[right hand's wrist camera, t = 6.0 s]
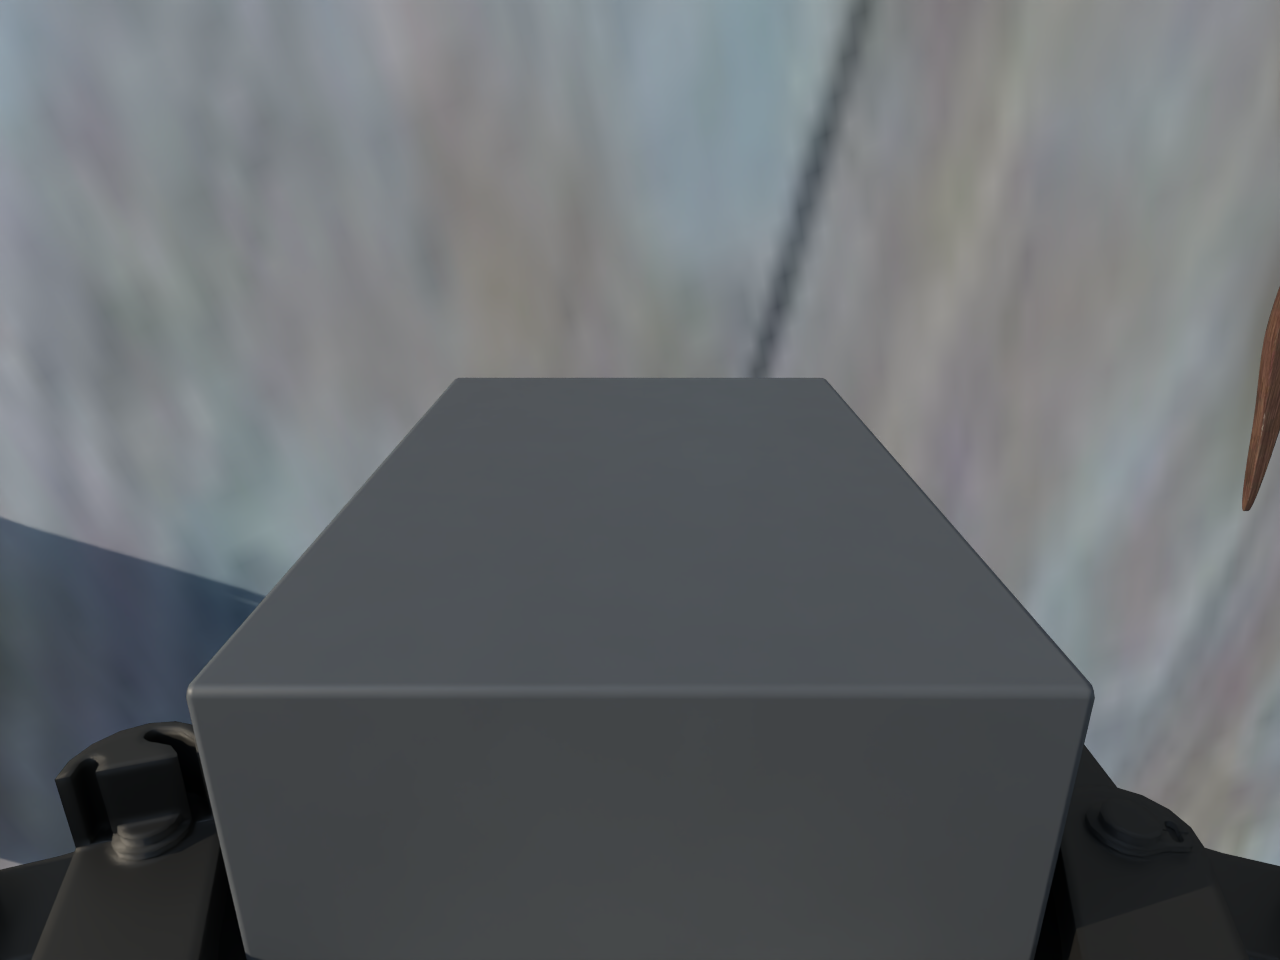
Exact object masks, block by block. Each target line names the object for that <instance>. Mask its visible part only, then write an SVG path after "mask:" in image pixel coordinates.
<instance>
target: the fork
mask: <svg viewBox="0 0 1280 960" xmlns="http://www.w3.org/2000/svg"><path fill="white" fill-rule="evenodd" d="M1279 431H1280V287H1279V290H1278V293H1277V296H1276V299H1275V302H1274V305H1273V308H1272V311H1271V315H1270V318H1269V321H1268V325H1267V329H1266V333H1265V338H1264V343H1263V349H1262V355H1261V363H1260V371H1259V380H1258V389H1257V398H1256V406H1255V414H1254V421H1253V428H1252V434H1251V440H1250V446H1249V452H1248V458H1247V465H1246V471H1245V479H1244V488H1243V498H1242V509H1243V511H1249V510H1250V508H1251V507H1252V505H1253V503H1254V501H1255V498H1256V496H1257V493H1258V491H1259V488H1260V486H1261V483H1262V480H1263V478H1264V475H1265V472H1266V469H1267V466H1268V463H1269V461H1270V458H1271V455H1272V452H1273V449H1274V446H1275V443H1276V440H1277V437H1278V434H1279Z"/></svg>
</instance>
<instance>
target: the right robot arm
mask: <svg viewBox="0 0 1280 960" xmlns="http://www.w3.org/2000/svg"><path fill="white" fill-rule="evenodd" d="M55 782H56V785H57V788H58V792H59V795H60V798H61V801H62V805H63V808H64V811H65V814H66V817H67V821H68V824H69V827H70V830H71V833H72V837H73V840H74V843H75V846H76V850H75V852H72V853H68V854H65V855H62V856H58V857H54V858H50V859H45V860H41V861H36V862H32V863H28V864H23V865H19V866H15V867H10V868H6V869H2V870H0V960H247V958H246V954H245V950H244V945H243V941H242V937H241V932H240V928H239V924H238V919H237V915H236V911H235V906H234V902H233V898H232V893H231V889H230V885H229V880H228V876H227V872H226V868H225V863H224V859H223V855H222V850H221V846H220V842H219V837H218V833H217V829H216V824H215V820H214V816H213V811H212V807H211V803H210V798H209V794H208V790H207V786H206V781H205V777H204V773H203V768H202V764H201V760H200V755H199V751H198V747H197V742H196V738H195V734H194V729H193V725H191V724H186V723H181V722H176V721H174V722H161V723H149V724H145V725H141V726H138V727H134V728H130V729H126V730H123V731H120V732H117V733H115V734H113V735H111V736H109V737H107V738H105V739H102V740H100V741H98V742H96V743H94V744H92V745H91V746H89V747H88V748H86V749H85V750H84V751H82V752H81V753H80V754H78V755H77V756H75V757H74V758H73V759H71V760H70V761H69V762H68V763H67V764H66V766H65V767H64V768H63V770H62V771H61V772H60V773H59V775H58V776H57V777H56V779H55ZM1034 960H1280V866H1277V865H1272V864H1268V863H1263V862H1259V861H1255V860H1250V859H1246V858H1242V857H1237V856H1233V855H1229V854H1224V853H1221V852H1217V851H1214V850H1210V849H1207V848H1204V846H1203V845H1202V843H1201V842H1200V840H1199V839H1198V837H1197V836H1196V834H1195V833H1194V831H1193V830H1192V828H1191V827H1190V826H1188V825H1187V824H1186V823H1185V822H1184V821H1182V820H1181V819H1180V818H1179V817H1178V816H1176V815H1175V814H1174V813H1173V812H1172V811H1170V810H1169V809H1167V808H1165V807H1164V806H1162V805H1160V804H1158V803H1156V802H1154V801H1152V800H1150V799H1148V798H1146V797H1145V796H1143V795H1140V794H1136V793H1133V792H1130V791H1126V790H1123V789H1120V788H1117V787H1116V785H1115V784H1114V783H1113V781H1112V780H1111V779H1110V778H1109V776H1108V775H1107V774H1106V772H1105V771H1104V770H1103V768H1102V767H1101V766H1100V765H1099V763H1098V762H1097V761H1096V759H1095V758H1094V757H1093V755H1092V754H1091V753H1090V751H1089V750H1088V749H1087V748H1086V746H1085V745H1084V746H1083V750H1082V755H1081V759H1080V763H1079V768H1078V772H1077V776H1076V780H1075V785H1074V789H1073V793H1072V798H1071V802H1070V806H1069V811H1068V815H1067V819H1066V823H1065V828H1064V832H1063V836H1062V841H1061V845H1060V849H1059V854H1058V858H1057V862H1056V867H1055V871H1054V875H1053V879H1052V884H1051V888H1050V892H1049V897H1048V901H1047V905H1046V910H1045V914H1044V918H1043V922H1042V927H1041V931H1040V935H1039V940H1038V944H1037V948H1036V953H1035V957H1034Z"/></svg>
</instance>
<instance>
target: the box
mask: <svg viewBox="0 0 1280 960" xmlns="http://www.w3.org/2000/svg"><path fill="white" fill-rule="evenodd" d="M186 699H187V704H188V708H189V712H190V716H191V721H192V725H193V729H194V734H195V738H196V742H197V747H198V751H199V755H200V760H201V764H202V768H203V773H204V777H205V781H206V786H207V790H208V794H209V798H210V803H211V807H212V811H213V816H214V820H215V824H216V829H217V833H218V837H219V842H220V846H221V850H222V855H223V859H224V863H225V868H226V872H227V876H228V880H229V885H230V889H231V893H232V898H233V902H234V906H235V911H236V915H237V919H238V924H239V928H240V932H241V937H242V941H243V945H244V950H245V954H246V958H247V960H1034V957H1035V953H1036V948H1037V944H1038V940H1039V935H1040V931H1041V927H1042V922H1043V918H1044V914H1045V910H1046V905H1047V901H1048V897H1049V892H1050V888H1051V884H1052V879H1053V875H1054V871H1055V867H1056V862H1057V858H1058V854H1059V849H1060V845H1061V841H1062V836H1063V832H1064V828H1065V823H1066V819H1067V815H1068V811H1069V806H1070V802H1071V798H1072V793H1073V789H1074V785H1075V780H1076V776H1077V772H1078V768H1079V763H1080V759H1081V755H1082V750H1083V746H1084V742H1085V737H1086V733H1087V729H1088V725H1089V720H1090V716H1091V712H1092V707H1093V703H1094V699H1095V697H1094V690H1093V687H1092V685H1091V684H1090V682H1089V681H1088V680H1087V679H1086V678H1085V677H1084V676H1083V674H1082V673H1081V672H1080V671H1079V670H1078V669H1077V668H1076V666H1075V665H1074V664H1073V663H1072V662H1071V661H1070V659H1069V658H1068V657H1067V656H1066V655H1065V654H1064V653H1063V651H1062V650H1061V649H1060V648H1059V647H1058V646H1057V645H1056V643H1055V642H1054V641H1053V640H1052V639H1051V638H1050V637H1049V635H1048V634H1047V633H1046V632H1045V631H1044V630H1043V628H1042V627H1041V626H1040V625H1039V624H1038V623H1037V622H1036V620H1035V619H1034V618H1033V617H1032V616H1031V615H1030V614H1029V612H1028V611H1027V610H1026V609H1025V608H1024V607H1023V606H1022V604H1021V603H1020V602H1019V601H1018V600H1017V599H1016V597H1015V596H1014V595H1013V594H1012V593H1011V592H1010V591H1009V589H1008V588H1007V587H1006V586H1005V585H1004V584H1003V583H1002V581H1001V580H1000V579H999V578H998V577H997V576H996V575H995V573H994V572H993V571H992V570H991V569H990V568H989V566H988V565H987V564H986V563H985V562H984V561H983V560H982V558H981V557H980V556H979V555H978V554H977V553H976V552H975V550H974V549H973V548H972V547H971V546H970V545H969V544H968V542H967V541H966V540H965V539H964V538H963V537H962V535H961V534H960V533H959V532H958V531H957V530H956V529H955V527H954V526H953V525H952V524H951V523H950V522H949V521H948V519H947V518H946V517H945V516H944V515H943V514H942V513H941V511H940V510H939V509H938V508H937V507H936V506H935V504H934V503H933V502H932V501H931V500H930V499H929V498H928V496H927V495H926V494H925V493H924V492H923V491H922V490H921V488H920V487H919V486H918V485H917V484H916V483H915V482H914V480H913V479H912V478H911V477H910V476H909V475H908V473H907V472H906V471H905V470H904V469H903V468H902V467H901V465H900V464H899V463H898V462H897V461H896V460H895V459H894V457H893V456H892V455H891V454H890V453H889V452H888V451H887V449H886V448H885V447H884V446H883V445H882V444H881V442H880V441H879V440H878V439H877V438H876V437H875V436H874V434H873V433H872V432H871V431H870V430H869V429H868V428H867V426H866V425H865V424H864V423H863V422H862V421H861V420H860V418H859V417H858V416H857V415H856V414H855V413H854V411H853V410H852V409H851V408H850V407H849V406H848V405H847V403H846V402H845V401H844V400H843V399H842V398H841V397H840V395H839V394H838V393H837V392H836V391H835V390H834V389H833V387H832V386H831V385H830V384H829V383H828V382H827V380H826V379H823V378H457V379H455V380H454V381H453V382H452V384H451V385H450V386H449V387H448V388H447V389H446V390H445V392H444V393H443V394H442V395H441V396H440V397H439V398H438V400H437V401H436V402H435V403H434V404H433V405H432V407H431V408H430V409H429V410H428V411H427V412H426V413H425V415H424V416H423V417H422V418H421V419H420V420H419V421H418V423H417V424H416V425H415V426H414V427H413V428H412V429H411V431H410V432H409V433H408V434H407V435H406V436H405V438H404V439H403V440H402V441H401V442H400V443H399V444H398V446H397V447H396V448H395V449H394V450H393V451H392V452H391V454H390V455H389V456H388V457H387V458H386V459H385V460H384V462H383V463H382V464H381V465H380V466H379V467H378V468H377V470H376V471H375V472H374V473H373V474H372V475H371V477H370V478H369V479H368V480H367V481H366V482H365V483H364V485H363V486H362V487H361V488H360V489H359V490H358V491H357V493H356V494H355V495H354V496H353V497H352V498H351V499H350V501H349V502H348V503H347V504H346V505H345V506H344V507H343V509H342V510H341V511H340V512H339V513H338V514H337V516H336V517H335V518H334V519H333V520H332V521H331V522H330V524H329V525H328V526H327V527H326V528H325V529H324V530H323V532H322V533H321V534H320V535H319V536H318V537H317V538H316V540H315V541H314V542H313V543H312V544H311V545H310V547H309V548H308V549H307V550H306V551H305V552H304V553H303V555H302V556H301V557H300V558H299V559H298V560H297V561H296V563H295V564H294V565H293V566H292V567H291V568H290V569H289V571H288V572H287V573H286V574H285V575H284V576H283V577H282V579H281V580H280V581H279V582H278V583H277V584H276V586H275V587H274V588H273V589H272V590H271V591H270V592H269V594H268V595H267V596H266V597H265V598H264V599H263V600H262V602H261V603H260V604H259V605H258V606H257V607H256V608H255V610H254V611H253V612H252V613H251V614H250V615H249V616H248V618H247V619H246V620H245V621H244V622H243V623H242V625H241V626H240V627H239V628H238V629H237V630H236V631H235V633H234V634H233V635H232V636H231V637H230V638H229V639H228V641H227V642H226V643H225V644H224V645H223V646H222V647H221V649H220V650H219V651H218V652H217V653H216V654H215V656H214V657H213V658H212V659H211V660H210V661H209V662H208V664H207V665H206V666H205V667H204V668H203V669H202V670H201V672H200V673H199V674H198V675H197V676H196V677H195V678H194V680H193V681H192V682H191V683H190V684H189V686H188V689H187V695H186Z"/></svg>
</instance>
